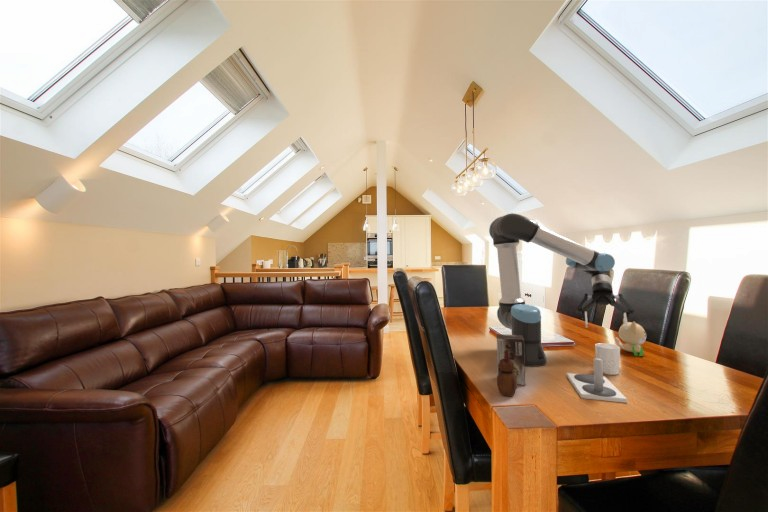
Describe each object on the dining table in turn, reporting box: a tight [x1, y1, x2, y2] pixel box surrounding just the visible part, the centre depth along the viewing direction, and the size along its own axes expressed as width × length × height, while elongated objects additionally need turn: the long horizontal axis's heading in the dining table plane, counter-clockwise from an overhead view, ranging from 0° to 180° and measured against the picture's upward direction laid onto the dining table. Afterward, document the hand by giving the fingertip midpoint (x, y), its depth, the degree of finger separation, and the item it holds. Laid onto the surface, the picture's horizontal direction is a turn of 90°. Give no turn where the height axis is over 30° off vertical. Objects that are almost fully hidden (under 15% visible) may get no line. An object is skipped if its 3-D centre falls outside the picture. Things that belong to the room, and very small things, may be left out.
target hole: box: [574, 373, 605, 384], centre depth 109 cm, size 9×9×1 cm
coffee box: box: [496, 333, 527, 386], centre depth 112 cm, size 9×6×16 cm
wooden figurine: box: [496, 350, 518, 397], centre depth 101 cm, size 7×6×15 cm
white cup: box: [594, 342, 621, 376], centre depth 120 cm, size 8×8×10 cm
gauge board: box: [566, 357, 628, 404], centre depth 105 cm, size 12×19×11 cm, turn 162°
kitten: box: [614, 317, 648, 357], centre depth 144 cm, size 15×10×15 cm, turn 164°
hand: (606, 327), depth 129 cm, fingers open, 13 cm apart
